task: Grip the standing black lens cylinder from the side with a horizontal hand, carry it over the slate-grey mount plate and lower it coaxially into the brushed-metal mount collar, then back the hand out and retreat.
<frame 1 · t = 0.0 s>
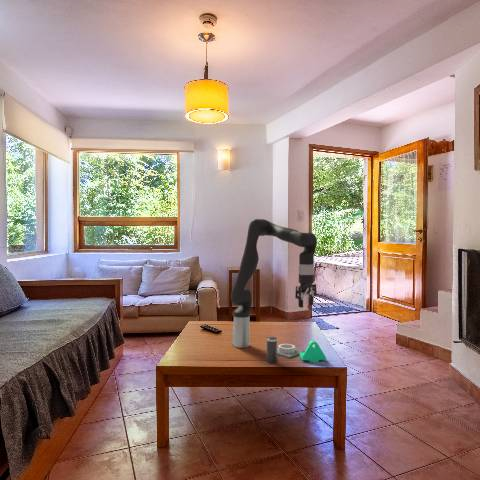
hand: (306, 306, 186), 29 cm above the table, tool pointing down, fingers open, 8 cm apart
mount plate: (286, 352, 206), on the table
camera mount: (312, 360, 196), on the table
lens: (271, 361, 192), on the table
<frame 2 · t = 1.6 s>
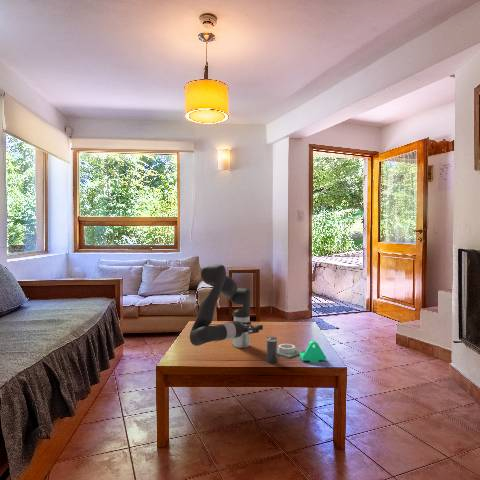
hand: (256, 325, 184), 20 cm above the table, tool horizontal, fingers open, 8 cm apart
nothing on the table moved.
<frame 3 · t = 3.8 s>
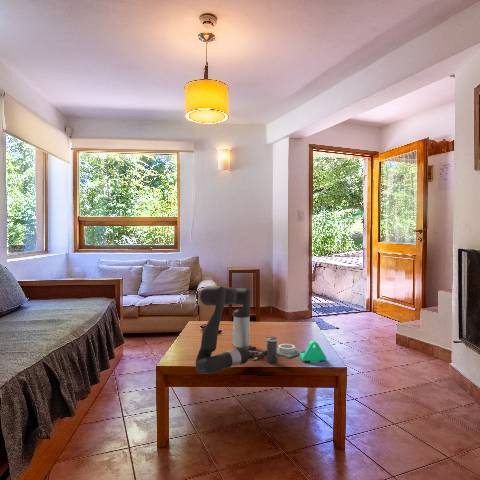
hand: (261, 350, 187), 7 cm above the table, tool horizontal, fingers open, 8 cm apart
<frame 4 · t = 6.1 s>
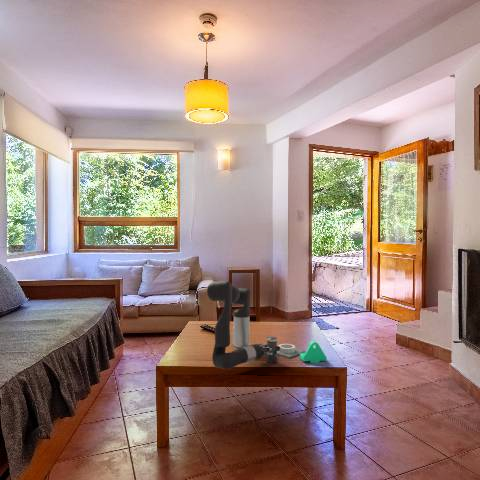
hand: (275, 346, 193), 7 cm above the table, tool horizontal, fingers closed on lens, 5 cm apart
lens: (271, 361, 192), on the table, touching gripper
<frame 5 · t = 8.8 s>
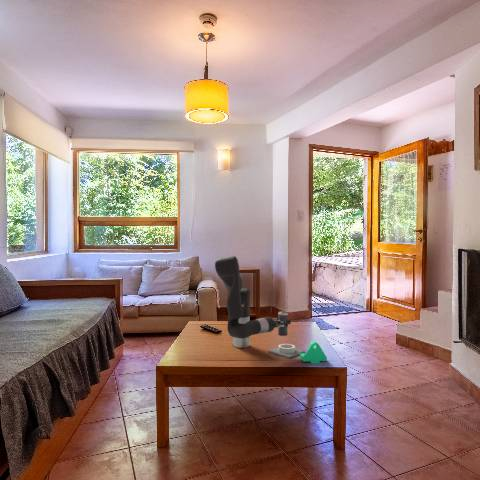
hand: (286, 320, 204), 18 cm above the table, tool horizontal, fingers closed on lens, 5 cm apart
lens: (282, 334, 202), point 11 cm above the table, touching gripper
when the fingers open (9 cm above the table, at t = 11.8 s): lens drops 1 cm, resting on mount plate.
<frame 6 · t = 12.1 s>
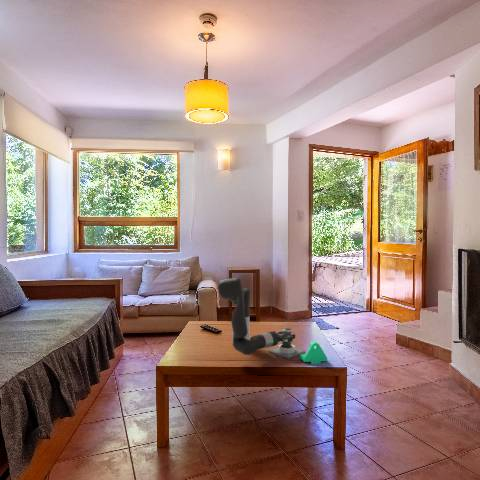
hand: (289, 334, 208), 10 cm above the table, tool horizontal, fingers open, 8 cm apart
lens: (286, 350, 206), point 1 cm above the table, touching mount plate
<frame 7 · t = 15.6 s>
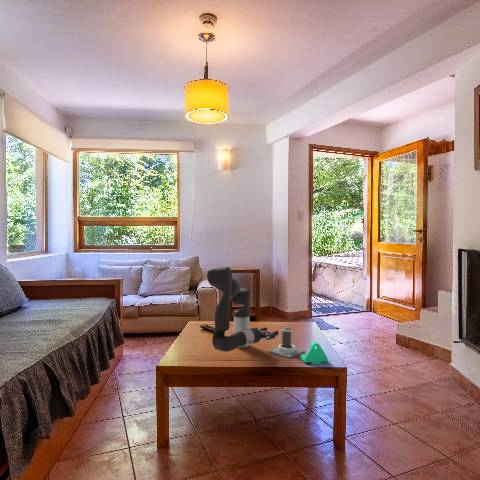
hand: (272, 331, 199), 14 cm above the table, tool horizontal, fingers open, 8 cm apart
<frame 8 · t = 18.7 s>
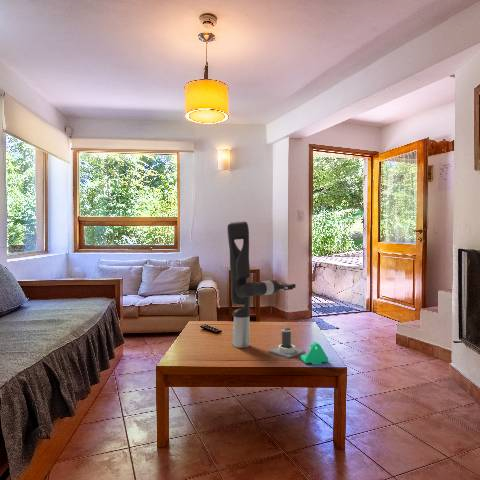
hand: (289, 285, 213), 36 cm above the table, tool horizontal, fingers open, 8 cm apart
at the end: lens 0.1 cm off-centre on the mount plate, point 1.1 cm above the mount plate's base; lens tilted 1°; the gripper is holding nothing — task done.
